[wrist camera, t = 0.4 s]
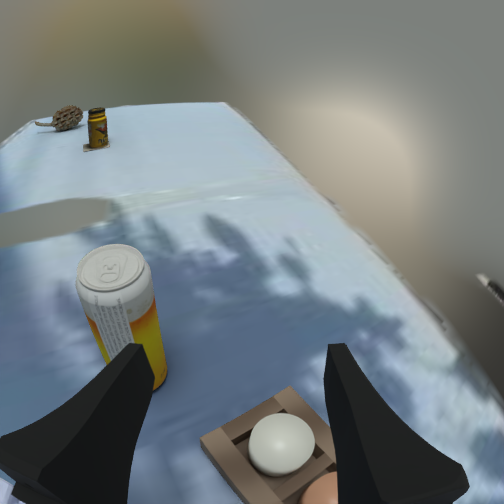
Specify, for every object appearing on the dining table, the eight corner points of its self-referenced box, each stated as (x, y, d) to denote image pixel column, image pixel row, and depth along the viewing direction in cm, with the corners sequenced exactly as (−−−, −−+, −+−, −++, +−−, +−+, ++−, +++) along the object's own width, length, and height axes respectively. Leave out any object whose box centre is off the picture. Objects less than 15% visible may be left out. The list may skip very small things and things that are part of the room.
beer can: (165, 348, 34) (149, 238, 25) (170, 395, 29) (149, 290, 20) (113, 352, 32) (79, 244, 23) (113, 398, 28) (65, 296, 19)
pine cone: (85, 124, 108) (84, 101, 102) (82, 129, 101) (80, 105, 95) (37, 133, 100) (34, 110, 94) (31, 139, 93) (28, 115, 87)
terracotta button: (368, 504, 19) (382, 498, 17) (324, 542, 16) (335, 541, 15) (331, 467, 22) (341, 459, 20) (284, 502, 19) (292, 498, 18)
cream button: (318, 454, 23) (327, 445, 22) (271, 487, 21) (277, 482, 19) (281, 415, 26) (287, 402, 25) (235, 443, 24) (237, 433, 22)
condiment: (110, 147, 85) (108, 109, 78) (83, 152, 81) (80, 114, 74) (108, 140, 90) (106, 105, 82) (83, 145, 86) (80, 109, 79)
